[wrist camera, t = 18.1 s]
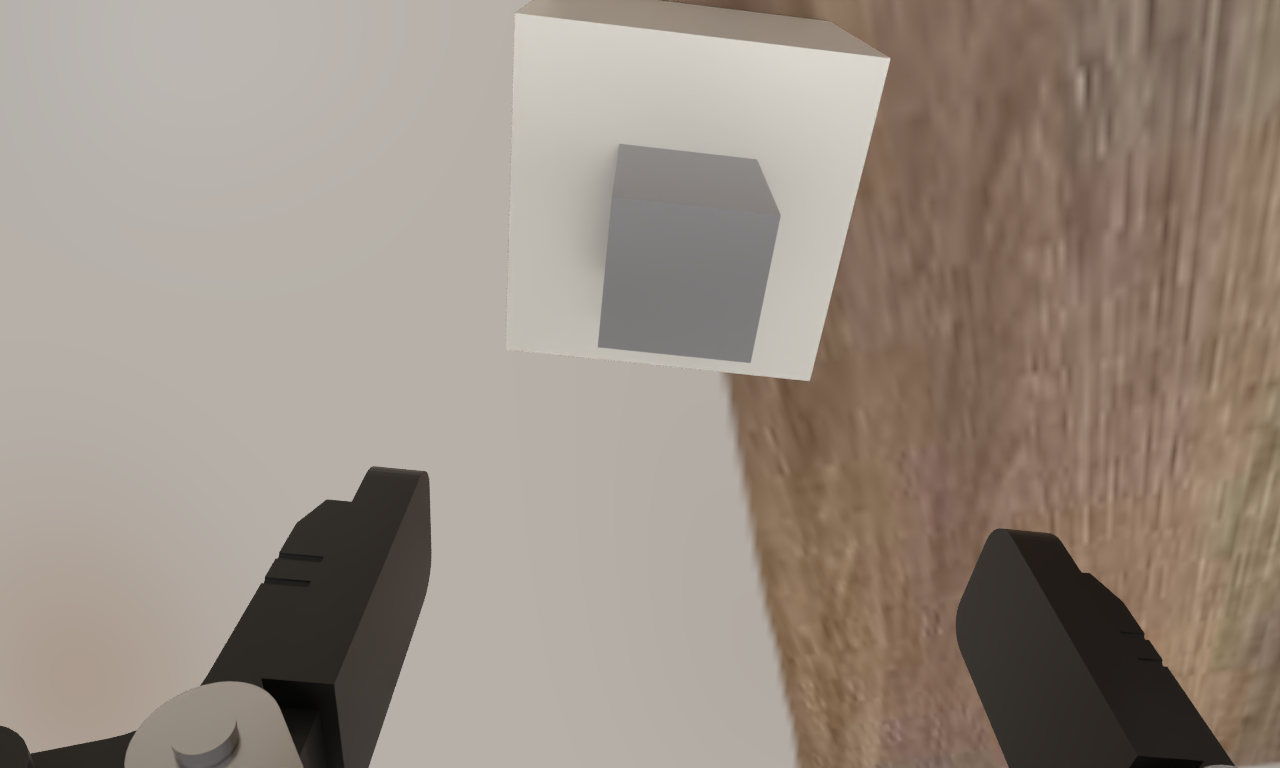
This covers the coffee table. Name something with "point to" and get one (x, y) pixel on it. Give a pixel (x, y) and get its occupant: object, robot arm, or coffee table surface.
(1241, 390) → the coffee table surface
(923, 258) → the coffee table surface
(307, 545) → the robot arm
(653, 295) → the stacked blocks
